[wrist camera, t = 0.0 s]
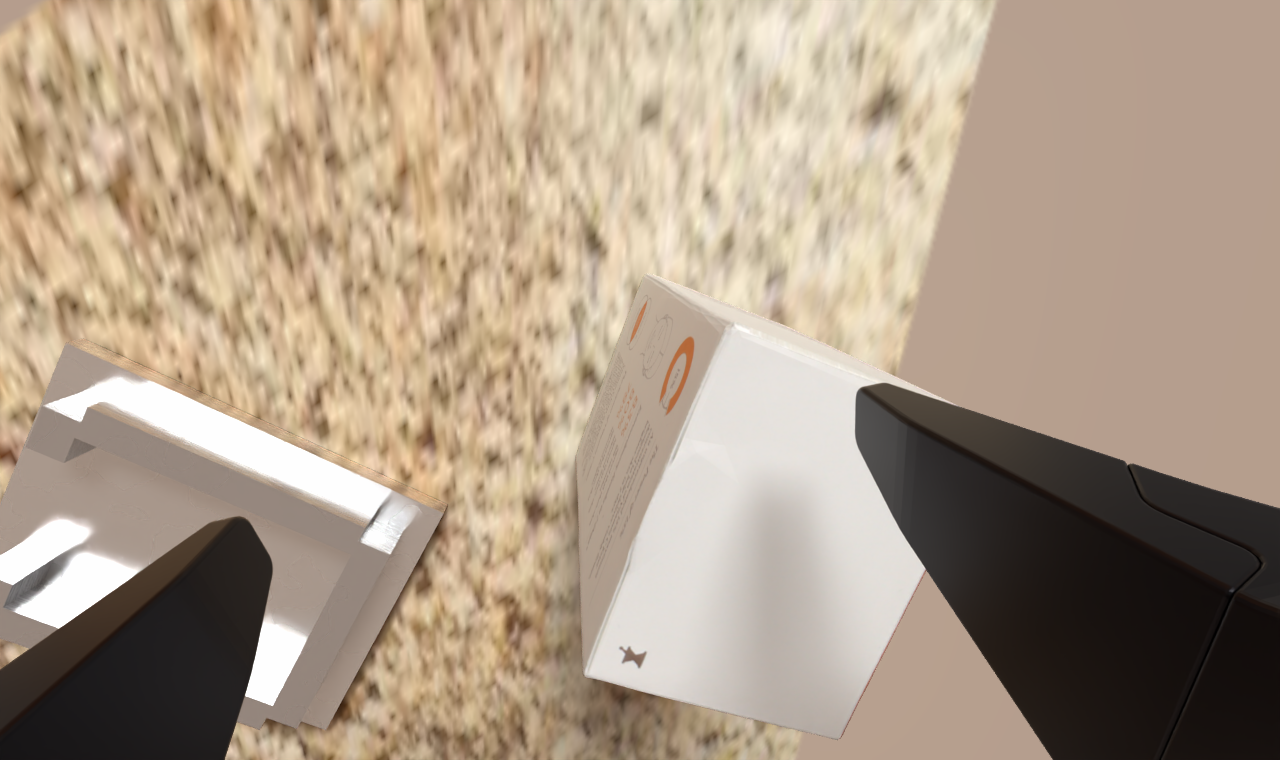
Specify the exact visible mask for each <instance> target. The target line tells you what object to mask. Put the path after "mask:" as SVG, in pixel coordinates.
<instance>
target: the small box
mask: <svg viewBox="0 0 1280 760" xmlns="http://www.w3.org/2000/svg"><path fill="white" fill-rule="evenodd" d="M878 383H889V384H892V385H895V386H898V387H901V388H904V389H907V390H910V391H913V392H916V393H919V394H922V395H925V396H928V397H931V398H934V399H938V400H941V401H944V402H947V403H950V404H953V403H951V402H949V401H947V400H944V399H942V398H940V397H938V396H936V395H933V394H932V393H929V392H927V391H925V390H923V389H921V388H919V387H917V386H915V385H912V384H910V383H908V382H906V381H904V380H902V379H899V378H897V377H895V376H893V375H891V374H889V373H887V372H884V371H882V370H880V369H878V368H876V367H874V366H872V365H870V364H867V363H865V362H863V361H861V360H859V359H857V358H855V357H853V356H850V355H848V354H846V353H844V352H842V351H839V350H837V349H835V348H833V347H831V346H829V345H827V344H825V343H823V342H820V341H818V340H816V339H813V338H811V337H809V336H807V335H805V334H802V333H800V332H798V331H796V330H794V329H792V328H789V327H787V326H785V325H782V324H779V323H777V322H774V321H772V320H769V319H767V318H764V317H762V316H759V315H756V314H754V313H751V312H749V311H746V310H744V309H741V308H739V307H736V306H733V305H731V304H728V303H726V302H723V301H721V300H718V299H716V298H713V297H710V296H708V295H705V294H703V293H700V292H698V291H695V290H692V289H690V288H687V287H685V286H682V285H679V284H677V283H674V282H672V281H669V280H666V279H664V278H661V277H659V276H656V275H653V274H645V275H644V276H643V279H642V281H641V284H640V286H639V289H638V291H637V294H636V296H635V299H634V301H633V304H632V306H631V309H630V311H629V314H628V317H627V319H626V322H625V324H624V327H623V330H622V332H621V335H620V338H619V340H618V343H617V345H616V348H615V351H614V353H613V356H612V359H611V361H610V364H609V367H608V369H607V372H606V375H605V377H604V380H603V383H602V385H601V388H600V391H599V393H598V396H597V399H596V401H595V404H594V407H593V409H592V412H591V415H590V417H589V420H588V423H587V426H586V428H585V431H584V434H583V436H582V439H581V442H580V445H579V448H578V451H577V454H576V472H577V490H578V517H579V571H580V601H581V633H582V663H583V675H584V676H585V677H586V678H591V679H596V680H601V681H605V682H609V683H612V684H616V685H620V686H624V687H627V688H631V689H634V690H638V691H641V692H645V693H649V694H653V695H657V696H660V697H664V698H668V699H672V700H676V701H680V702H684V703H688V704H692V705H696V706H700V707H704V708H708V709H712V710H716V711H720V712H724V713H728V714H732V715H736V716H741V717H744V718H748V719H753V720H758V721H761V722H765V723H769V724H773V725H777V726H781V727H785V728H789V729H793V730H797V731H802V732H806V733H811V734H816V735H819V736H823V737H827V738H831V739H835V740H838V739H840V738H841V737H842V735H843V733H844V731H845V729H846V727H847V725H848V723H849V721H850V719H851V717H852V715H853V713H854V711H855V709H856V707H857V705H858V703H859V701H860V699H861V697H862V695H863V693H864V692H865V690H866V688H867V686H868V684H869V682H870V680H871V678H872V676H873V673H874V672H875V670H876V668H877V666H878V664H879V662H880V660H881V658H882V656H883V654H884V652H885V651H886V649H887V647H888V645H889V643H890V640H891V639H892V637H893V635H894V633H895V630H896V628H897V626H898V624H899V623H900V621H901V619H902V617H903V615H904V613H905V611H906V609H907V607H908V605H909V603H910V601H911V599H912V597H913V595H914V593H915V591H916V589H917V587H918V586H919V584H920V582H921V580H922V578H923V576H924V574H925V572H926V569H925V567H924V566H923V564H922V563H921V561H920V560H919V558H918V557H917V555H916V554H915V552H914V551H913V549H912V548H911V546H910V545H909V543H908V542H907V540H906V539H905V537H904V535H903V534H902V532H901V531H900V529H899V527H898V525H897V523H896V521H895V520H894V518H893V516H892V514H891V512H890V510H889V508H888V506H887V504H886V502H885V500H884V498H883V496H882V494H881V492H880V490H879V488H878V486H877V484H876V483H875V481H874V479H873V477H872V475H871V473H870V471H869V469H868V467H867V465H866V463H865V461H864V459H863V457H862V455H861V453H860V451H859V449H858V446H857V443H856V439H855V399H856V393H857V391H858V390H859V388H861V387H864V386H868V385H873V384H878ZM953 405H955V404H953ZM956 406H957V405H956Z"/></svg>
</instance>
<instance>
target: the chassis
mask: <svg viewBox="0 0 1280 760" xmlns="http://www.w3.org/2000/svg"><path fill="white" fill-rule="evenodd" d="M447 505H448V504H445V503H443V502H441V501H439V500H437V499H434V498H432V497H430V496H428V495H426V494H423V493H421V492H419V491H417V490H415V489H413V488H410V487H408V486H406V485H404V484H402V483H399V482H397V481H395V480H393V479H391V478H388V477H386V476H384V475H382V474H380V473H377V472H375V471H373V470H371V469H369V468H366V467H364V466H362V465H360V464H358V463H355V462H353V461H351V460H349V459H347V458H344V457H342V456H340V455H338V454H336V453H333V452H331V451H329V450H327V449H325V448H322V447H320V446H318V445H316V444H314V443H312V442H309V441H307V440H305V439H303V438H301V437H298V436H296V435H294V434H292V433H290V432H287V431H285V430H283V429H281V428H279V427H276V426H274V425H272V424H270V423H268V422H265V421H263V420H261V419H259V418H257V417H254V416H252V415H250V414H248V413H246V412H243V411H241V410H239V409H237V408H235V407H232V406H230V405H228V404H226V403H224V402H221V401H219V400H217V399H215V398H213V397H211V396H208V395H206V394H204V393H202V392H200V391H197V390H195V389H193V388H191V387H189V386H186V385H184V384H182V383H180V382H178V381H175V380H173V379H171V378H169V377H167V376H164V375H162V374H160V373H158V372H156V371H153V370H151V369H149V368H147V367H145V366H142V365H140V364H138V363H136V362H134V361H131V360H129V359H127V358H125V357H123V356H120V355H118V354H116V353H114V352H112V351H110V350H107V349H105V348H103V347H101V346H99V345H96V344H94V343H92V342H90V341H88V340H85V339H79V340H75V341H71V342H67V343H66V344H65V346H64V349H63V351H62V354H61V356H60V359H59V361H58V363H57V366H56V368H55V371H54V373H53V376H52V378H51V381H50V383H49V386H48V388H47V390H46V393H45V395H44V398H43V400H42V403H41V405H40V408H39V410H38V413H37V415H36V417H35V420H34V422H33V425H32V427H31V430H30V432H29V435H28V437H27V440H26V442H25V444H24V447H23V449H22V452H21V454H20V457H19V459H18V462H17V464H16V467H15V469H14V472H13V474H12V476H11V479H10V481H9V484H8V486H7V489H6V491H5V494H4V496H3V499H2V501H1V503H0V638H1V639H4V640H6V641H9V642H12V643H15V644H18V645H21V646H23V647H26V648H29V649H30V648H32V647H33V646H34V645H36V644H37V643H39V642H40V641H41V640H43V639H44V638H46V637H47V636H49V635H50V634H51V633H53V632H54V631H56V630H57V629H59V628H60V627H61V626H63V625H64V624H66V623H67V622H69V621H70V620H71V619H73V618H74V617H76V616H77V615H78V614H80V613H81V612H83V611H84V610H86V609H87V608H88V607H90V606H91V605H93V604H94V603H96V602H97V601H98V600H100V599H101V598H103V597H104V596H105V595H107V594H108V593H110V592H111V591H113V590H114V589H115V588H117V587H118V586H120V585H121V584H123V583H124V582H125V581H127V580H128V579H130V578H131V577H133V576H134V575H135V574H137V573H138V572H140V571H141V570H142V569H144V568H145V567H147V566H148V565H150V564H151V563H152V562H154V561H155V560H157V559H158V558H160V557H161V556H162V555H164V554H165V553H167V552H168V551H170V550H171V549H172V548H174V547H175V546H177V545H178V544H179V543H181V542H182V541H184V540H185V539H187V538H188V537H189V536H191V535H192V534H194V533H195V532H197V531H198V530H199V529H201V528H202V527H204V526H205V525H207V524H208V523H210V522H212V521H216V520H220V519H225V518H230V517H235V516H241V517H244V518H246V519H247V520H249V522H250V523H251V524H252V526H253V528H254V529H255V531H256V533H257V535H258V536H259V538H260V540H261V541H262V543H263V545H264V546H265V548H266V550H267V552H268V553H269V555H270V557H271V560H272V564H273V575H272V581H271V585H270V590H269V595H268V600H267V605H266V610H265V615H264V620H263V624H262V629H261V634H260V639H259V644H258V649H257V654H256V658H255V662H254V666H253V671H252V675H251V678H250V681H249V685H248V688H247V692H246V695H245V698H244V701H243V704H242V707H241V710H240V713H239V717H238V720H237V722H239V723H241V724H244V725H247V726H250V727H253V728H256V729H258V730H260V729H261V727H262V726H263V724H264V722H265V721H266V719H267V718H268V719H271V720H274V721H276V722H279V723H282V724H285V725H288V726H290V727H293V728H296V729H297V728H298V726H299V724H300V723H301V721H302V722H304V723H307V724H310V725H313V726H315V727H318V728H321V729H324V730H326V729H327V727H328V725H329V724H330V722H331V720H332V718H333V716H334V714H335V713H336V711H337V709H338V707H339V705H340V703H341V701H342V700H343V698H344V696H345V694H346V692H347V690H348V689H349V687H350V685H351V683H352V681H353V679H354V678H355V676H356V674H357V672H358V670H359V668H360V667H361V665H362V663H363V661H364V659H365V657H366V655H367V654H368V652H369V650H370V648H371V646H372V644H373V643H374V641H375V639H376V637H377V635H378V633H379V632H380V630H381V628H382V626H383V624H384V622H385V621H386V619H387V617H388V615H389V613H390V611H391V610H392V608H393V606H394V604H395V602H396V600H397V598H398V597H399V595H400V593H401V591H402V589H403V587H404V586H405V584H406V582H407V580H408V578H409V576H410V575H411V573H412V571H413V569H414V567H415V565H416V564H417V562H418V560H419V558H420V556H421V554H422V552H423V551H424V549H425V547H426V545H427V543H428V541H429V540H430V538H431V536H432V534H433V532H434V530H435V529H436V527H437V525H438V523H439V521H440V519H441V518H442V516H443V514H444V512H445V509H446V507H447Z"/></svg>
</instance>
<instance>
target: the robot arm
mask: <svg viewBox="0 0 1280 760" xmlns="http://www.w3.org/2000/svg"><path fill="white" fill-rule="evenodd" d="M855 439H856V443H857V446H858V449H859V451H860V453H861V455H862V457H863V459H864V461H865V463H866V465H867V467H868V469H869V471H870V473H871V475H872V477H873V479H874V481H875V483H876V484H877V486H878V488H879V490H880V492H881V494H882V496H883V498H884V500H885V502H886V504H887V506H888V508H889V510H890V512H891V514H892V516H893V518H894V520H895V521H896V523H897V525H898V527H899V529H900V531H901V532H902V534H903V535H904V537H905V539H906V540H907V542H908V543H909V545H910V546H911V548H912V549H913V551H914V552H915V554H916V555H917V557H918V558H919V560H920V561H921V563H922V564H923V566H924V567H925V569H926V570H927V572H928V573H929V574H930V576H931V578H932V579H933V581H934V582H935V584H936V585H937V587H938V588H939V590H940V591H941V593H942V594H943V596H944V597H945V599H946V600H947V602H948V603H949V605H950V606H951V608H952V609H953V610H954V612H955V614H956V615H957V617H958V618H959V620H960V621H961V623H962V624H963V626H964V627H965V629H966V630H967V632H968V633H969V635H970V636H971V637H972V639H973V641H974V642H975V644H976V645H977V647H978V648H979V650H980V651H981V653H982V654H983V656H984V657H985V659H986V660H987V662H988V663H989V665H990V666H991V668H992V669H993V671H994V672H995V674H996V675H997V677H998V678H999V680H1000V681H1001V683H1002V684H1003V686H1004V687H1005V688H1006V690H1007V692H1008V693H1009V695H1010V696H1011V698H1012V699H1013V701H1014V702H1015V704H1016V705H1017V707H1018V708H1019V710H1020V711H1021V713H1022V714H1023V716H1024V717H1025V718H1026V720H1027V722H1028V723H1029V724H1030V726H1031V728H1032V729H1033V731H1034V732H1035V734H1036V735H1037V737H1038V738H1039V740H1040V741H1041V743H1042V744H1043V746H1044V747H1045V749H1046V750H1047V752H1048V753H1049V755H1050V756H1051V758H1052V759H1053V760H1280V508H1277V507H1273V506H1269V505H1266V504H1263V503H1259V502H1256V501H1252V500H1249V499H1245V498H1242V497H1238V496H1234V495H1231V494H1228V493H1224V492H1220V491H1217V490H1213V489H1210V488H1207V487H1204V486H1201V485H1198V484H1194V483H1191V482H1188V481H1185V480H1182V479H1179V478H1175V477H1172V476H1169V475H1166V474H1163V473H1159V472H1156V471H1154V470H1151V469H1147V468H1145V467H1142V466H1139V465H1136V464H1129V465H1128V466H1127V464H1126V462H1125V461H1123V460H1120V459H1117V458H1114V457H1111V456H1108V455H1105V454H1102V453H1099V452H1096V451H1093V450H1090V449H1087V448H1083V447H1080V446H1077V445H1074V444H1071V443H1068V442H1065V441H1062V440H1059V439H1056V438H1053V437H1050V436H1047V435H1044V434H1041V433H1037V432H1035V431H1032V430H1028V429H1026V428H1022V427H1020V426H1017V425H1014V424H1010V423H1007V422H1004V421H1001V420H998V419H995V418H992V417H989V416H986V415H983V414H980V413H977V412H974V411H971V410H968V409H965V408H962V407H959V406H956V405H953V404H950V403H947V402H944V401H941V400H938V399H934V398H931V397H928V396H925V395H922V394H919V393H916V392H913V391H910V390H907V389H904V388H901V387H898V386H895V385H892V384H889V383H878V384H873V385H868V386H864V387H861V388H859V390H858V391H857V393H856V399H855ZM272 575H273V564H272V560H271V557H270V555H269V553H268V552H267V550H266V548H265V546H264V545H263V543H262V541H261V540H260V538H259V536H258V535H257V533H256V531H255V529H254V528H253V526H252V524H251V523H250V522H249V520H247V519H246V518H244V517H241V516H235V517H230V518H225V519H220V520H216V521H212V522H210V523H208V524H207V525H205V526H204V527H202V528H201V529H199V530H198V531H197V532H195V533H194V534H192V535H191V536H189V537H188V538H187V539H185V540H184V541H182V542H181V543H179V544H178V545H177V546H175V547H174V548H172V549H171V550H170V551H168V552H167V553H165V554H164V555H162V556H161V557H160V558H158V559H157V560H155V561H154V562H152V563H151V564H150V565H148V566H147V567H145V568H144V569H142V570H141V571H140V572H138V573H137V574H135V575H134V576H133V577H131V578H130V579H128V580H127V581H125V582H124V583H123V584H121V585H120V586H118V587H117V588H115V589H114V590H113V591H111V592H110V593H108V594H107V595H105V596H104V597H103V598H101V599H100V600H98V601H97V602H96V603H94V604H93V605H91V606H90V607H88V608H87V609H86V610H84V611H83V612H81V613H80V614H78V615H77V616H76V617H74V618H73V619H71V620H70V621H69V622H67V623H66V624H64V625H63V626H61V627H60V628H59V629H57V630H56V631H54V632H53V633H51V634H50V635H49V636H47V637H46V638H44V639H43V640H41V641H40V642H39V643H37V644H36V645H34V646H33V647H32V648H30V649H29V650H27V651H26V652H24V653H23V654H22V655H20V656H19V657H17V658H16V659H14V660H13V661H12V662H10V663H9V664H7V665H6V666H4V667H3V668H2V669H0V760H225V757H226V754H227V751H228V748H229V745H230V741H231V738H232V735H233V732H234V729H235V726H236V723H237V720H238V717H239V713H240V710H241V707H242V704H243V701H244V698H245V695H246V692H247V688H248V685H249V681H250V678H251V675H252V671H253V666H254V662H255V658H256V654H257V649H258V644H259V639H260V634H261V629H262V624H263V620H264V615H265V610H266V605H267V600H268V595H269V590H270V585H271V581H272Z"/></svg>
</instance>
